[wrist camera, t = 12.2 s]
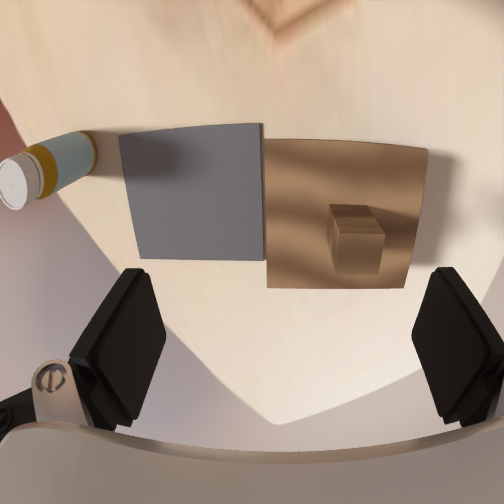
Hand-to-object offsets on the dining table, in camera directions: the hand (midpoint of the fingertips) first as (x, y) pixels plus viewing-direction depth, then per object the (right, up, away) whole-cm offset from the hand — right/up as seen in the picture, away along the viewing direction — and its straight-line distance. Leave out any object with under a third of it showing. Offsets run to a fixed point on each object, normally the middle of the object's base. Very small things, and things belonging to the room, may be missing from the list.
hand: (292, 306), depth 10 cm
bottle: (-27, +16, +29) cm, 43 cm away
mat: (-9, +9, +31) cm, 34 cm away
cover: (+9, +5, +22) cm, 25 cm away
